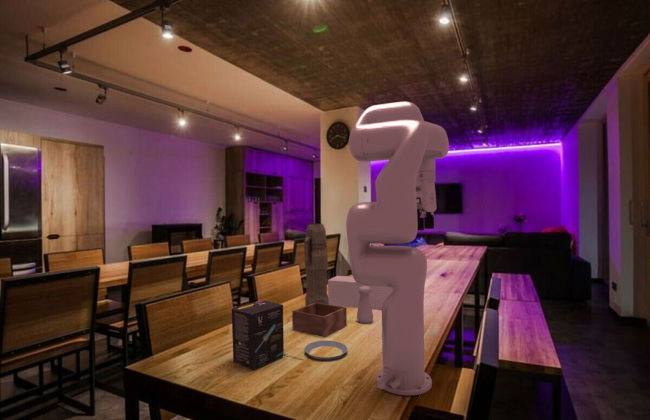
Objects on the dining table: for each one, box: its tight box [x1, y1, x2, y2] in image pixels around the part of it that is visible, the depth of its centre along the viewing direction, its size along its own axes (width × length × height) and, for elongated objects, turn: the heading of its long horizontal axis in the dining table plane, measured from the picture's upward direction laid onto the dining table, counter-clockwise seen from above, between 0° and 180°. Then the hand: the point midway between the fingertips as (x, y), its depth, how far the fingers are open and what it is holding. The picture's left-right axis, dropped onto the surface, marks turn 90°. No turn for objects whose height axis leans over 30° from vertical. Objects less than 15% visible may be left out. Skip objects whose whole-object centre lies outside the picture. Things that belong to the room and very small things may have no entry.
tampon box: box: [231, 299, 285, 371], centre depth 98 cm, size 11×9×15 cm
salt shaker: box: [356, 286, 374, 324], centre depth 127 cm, size 6×6×13 cm
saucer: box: [304, 340, 348, 361], centre depth 100 cm, size 12×12×2 cm
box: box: [291, 302, 348, 338], centre depth 121 cm, size 13×13×7 cm
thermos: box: [303, 222, 329, 307], centre depth 139 cm, size 9×12×35 cm
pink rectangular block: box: [327, 275, 393, 311], centre depth 151 cm, size 32×11×11 cm, turn 67°
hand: (424, 229), depth 119 cm, fingers open, 9 cm apart
